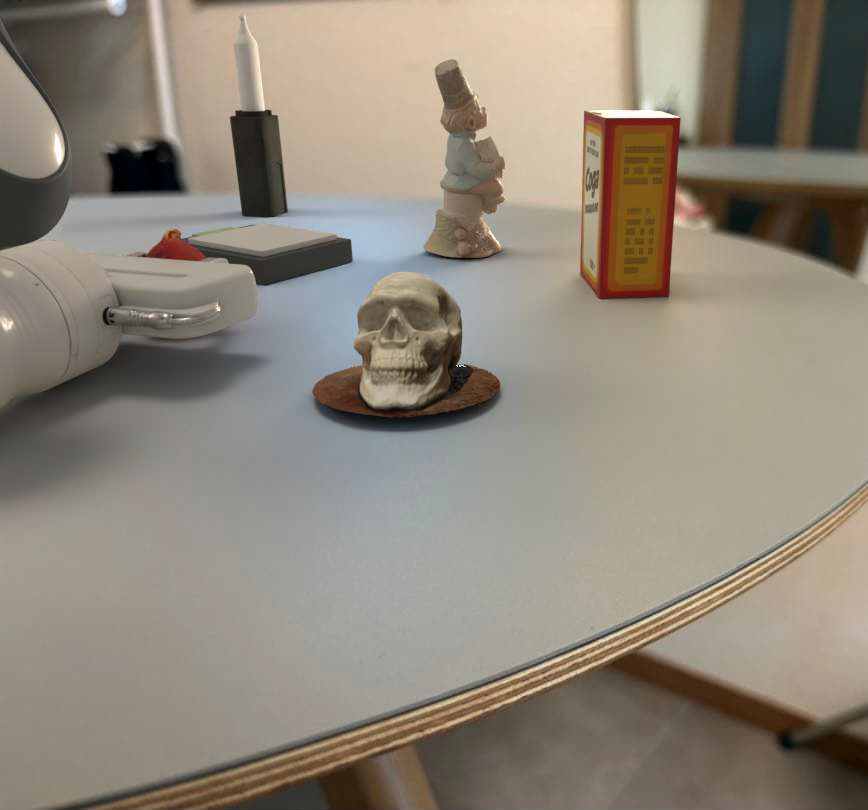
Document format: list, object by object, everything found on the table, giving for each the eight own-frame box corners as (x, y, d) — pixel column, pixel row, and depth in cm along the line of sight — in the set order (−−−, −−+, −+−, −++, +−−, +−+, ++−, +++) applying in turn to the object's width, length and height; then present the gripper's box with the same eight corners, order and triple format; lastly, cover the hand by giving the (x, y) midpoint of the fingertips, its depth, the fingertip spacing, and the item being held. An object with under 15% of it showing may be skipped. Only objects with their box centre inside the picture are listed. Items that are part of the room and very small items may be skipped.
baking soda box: (580, 273, 86) (584, 106, 80) (642, 272, 87) (651, 106, 81) (599, 298, 77) (605, 113, 71) (668, 296, 78) (680, 112, 72)
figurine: (439, 264, 89) (431, 59, 82) (416, 248, 97) (407, 58, 89) (517, 257, 93) (516, 59, 85) (489, 242, 100) (486, 58, 92)
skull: (496, 419, 49) (370, 286, 47) (377, 512, 53) (255, 394, 50) (529, 346, 60) (427, 235, 57) (428, 428, 64) (329, 328, 61)
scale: (165, 265, 88) (160, 236, 87) (256, 245, 98) (253, 219, 97) (264, 285, 81) (261, 254, 80) (353, 261, 90) (350, 233, 89)
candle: (257, 209, 120) (234, 14, 110) (291, 210, 119) (270, 14, 109) (238, 215, 115) (212, 12, 106) (273, 217, 114) (250, 12, 105)
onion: (188, 343, 65) (171, 239, 62) (129, 335, 67) (110, 233, 64) (238, 322, 70) (225, 225, 67) (182, 315, 72) (166, 220, 69)
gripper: (178, 275, 51) (296, 232, 63) (-92, 254, 56) (67, 218, 68) (194, 374, 53) (304, 314, 66) (-66, 345, 58) (83, 294, 71)
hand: (182, 265), depth 67 cm, fingers closed on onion, 5 cm apart
